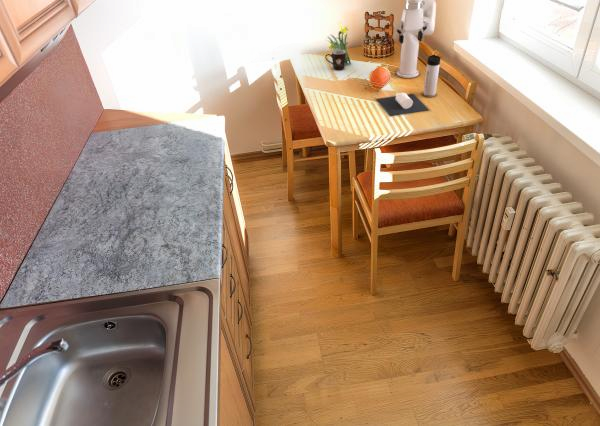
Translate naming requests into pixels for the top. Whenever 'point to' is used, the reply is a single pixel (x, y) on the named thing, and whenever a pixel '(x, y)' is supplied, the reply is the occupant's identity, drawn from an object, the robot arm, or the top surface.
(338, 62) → the coffee mug
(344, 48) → the daffodil flowers
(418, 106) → the slate mat
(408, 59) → the robot arm
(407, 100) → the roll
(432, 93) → the travel mug
